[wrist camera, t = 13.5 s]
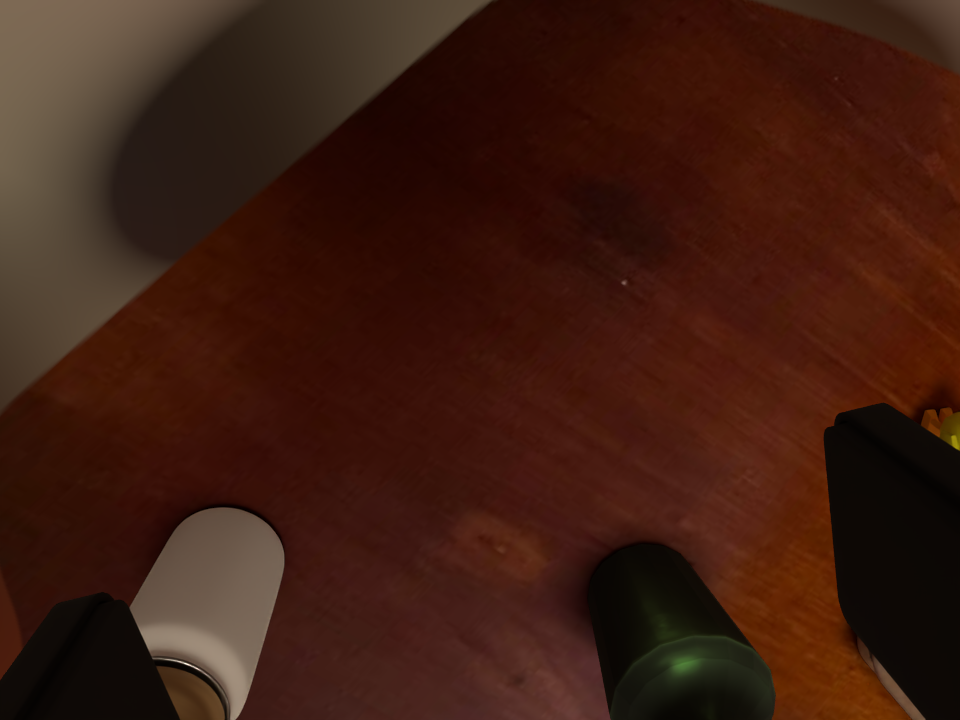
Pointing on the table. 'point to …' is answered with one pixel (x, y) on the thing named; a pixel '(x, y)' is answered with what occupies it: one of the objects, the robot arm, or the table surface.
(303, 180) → the table surface
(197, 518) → the can
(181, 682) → the cylinder
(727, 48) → the table surface
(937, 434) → the toy figure
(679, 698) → the potion bottle
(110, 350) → the table surface
